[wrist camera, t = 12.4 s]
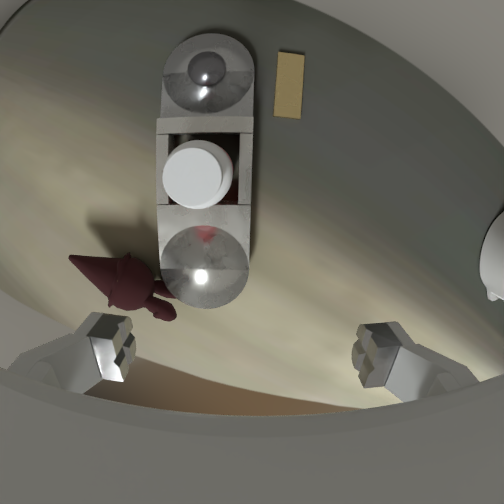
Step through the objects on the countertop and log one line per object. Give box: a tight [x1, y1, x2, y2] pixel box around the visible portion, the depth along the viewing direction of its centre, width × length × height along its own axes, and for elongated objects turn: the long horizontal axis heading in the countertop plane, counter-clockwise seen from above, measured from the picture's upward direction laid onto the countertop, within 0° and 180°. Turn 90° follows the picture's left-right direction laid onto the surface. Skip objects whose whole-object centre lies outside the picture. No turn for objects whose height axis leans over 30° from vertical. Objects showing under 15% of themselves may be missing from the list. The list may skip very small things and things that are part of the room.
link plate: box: [273, 52, 304, 120], centre depth 29 cm, size 8×3×1 cm, turn 176°
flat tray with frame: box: [156, 33, 254, 309], centre depth 31 cm, size 32×10×3 cm, turn 178°
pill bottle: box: [162, 140, 233, 209], centre depth 27 cm, size 6×6×11 cm
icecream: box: [69, 252, 177, 321], centre depth 32 cm, size 7×7×15 cm
